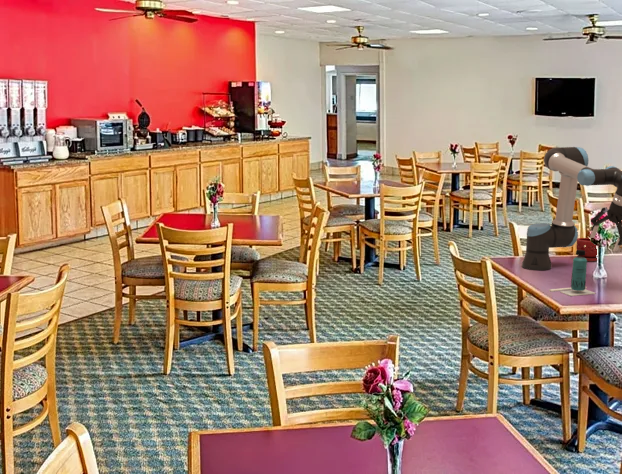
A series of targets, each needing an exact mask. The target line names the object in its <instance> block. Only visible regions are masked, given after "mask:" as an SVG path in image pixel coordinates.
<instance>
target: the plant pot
mask: <svg viewBox="0 0 622 474" xmlns="http://www.w3.org/2000/svg"><path fill="white" fill-rule="evenodd" d="M589 238H590V237H579V238H577V241H576V250H584V251H585V255H583V256H581V255H576V257H584V258H586V259H587V263H590V262H596V260H597V258H596V255H597V249H596V245H594V244H593V243H592V242H591V241H590V239H589ZM597 261H598V260H597Z"/></svg>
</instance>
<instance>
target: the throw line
mask: <svg viewBox="0 0 622 474" xmlns="http://www.w3.org/2000/svg"><path fill="white" fill-rule="evenodd" d="M587 288H588V287H587V286H585V289H586V290H587ZM569 290H572V289H571V287H563V288H562V287H561V288H560V287H559V288H552V289H548V291H549V292H550V293H551V292H552V293H553V292H554V293H555V292H560V291H569Z"/></svg>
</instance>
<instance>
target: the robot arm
mask: <svg viewBox="0 0 622 474" xmlns="http://www.w3.org/2000/svg"><path fill="white" fill-rule="evenodd" d="M543 163H544V166H545V167H546V168H547V169H548V170H550V171H553V172H558V173H559V174H560V180H559V182H560V183H559V191H558V197H557V203H556V204H557V205H556V211H555V212H556V213H555V218H554V219H553V220H552V221H551V224H550V223H548V222H538V223H533V224H530V225H528V227H527V230H526V247H525V255H524V257H523V259H522V263H521V267H522V268H523V269H527V270H531V271H532V270H533V271H549V270H551V269H552V261H551V257H550V254H549V253H550V248H554V249H555V248H567V247H569V248H570V247H573V246H574V245H575V244H576V243H577V239H578V237H579V231H578V228H577V226H576V225H575V222H574V221H573V217H574V210H575V203H576V196H577V189H578V183H579V185H580V186H587V187H589V186H614V187H615V188H616V190H615V193H614V195H613V197H612V201H611V202H610V205H609V208H608V207H602V208H601V210H600V211H599V212H598V213H597V214H596V215H594V216H593V218H592V219H590V222H591V223H592V227H591V234H590V235H589V238H594V239H595V238H596V235H597V232H598V230H599V227H600V226H599V225H600V224H601V223H604V222H606V221H610V222H612V223H613V224H615V226H616V228H617V233H618V236H619V237H618V238H617V239H616V241H615V245H614V248H613V249H612V251H613V252H617V251H619V248H620V246H622V170H621V169H620V168H618V167H615V166H614V165H608V166H607V167H605V168H598V169H597V168H596V169H595V168H592V167H589V155H588V153H587V151H586V149H584V148H583V147H581V146H580V147H578V146H566V147H564V146H563V147H557V146H556V147H553V148H550V149H548V150H547V151H546V152H545V154H544V157H543ZM605 213H606V214H607V215H605ZM603 215H605V216H604V217H602V216H603Z"/></svg>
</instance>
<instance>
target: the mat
mask: <svg viewBox="0 0 622 474" xmlns="http://www.w3.org/2000/svg"><path fill="white" fill-rule="evenodd" d="M559 293H561V294H563V295H566V296H568V297H576V296H588V295H596V294H597V293H596V292H594V291H591V290H590V289H589V290H588V289H587V288H586V289H585V290H583V291H577V290H565V291H559Z"/></svg>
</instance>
